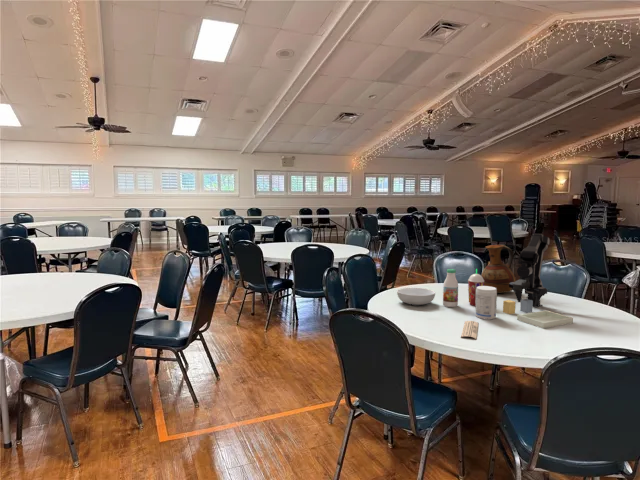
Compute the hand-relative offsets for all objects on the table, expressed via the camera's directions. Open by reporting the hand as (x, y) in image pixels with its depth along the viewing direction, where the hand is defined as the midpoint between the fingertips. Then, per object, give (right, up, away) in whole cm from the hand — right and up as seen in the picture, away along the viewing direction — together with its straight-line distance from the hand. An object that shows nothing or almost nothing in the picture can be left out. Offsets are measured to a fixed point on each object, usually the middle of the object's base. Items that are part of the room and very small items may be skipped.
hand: (526, 304), depth 211 cm
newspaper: (-40, -8, -30) cm, 51 cm away
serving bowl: (-53, -2, +17) cm, 56 cm away
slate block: (0, -4, 0) cm, 4 cm away
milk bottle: (-36, -3, +12) cm, 38 cm away
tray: (0, -6, -17) cm, 18 cm away
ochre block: (-10, -4, -2) cm, 11 cm away
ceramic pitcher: (+4, 0, +45) cm, 45 cm away
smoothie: (-21, -3, +14) cm, 26 cm away
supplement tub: (-25, -5, -10) cm, 27 cm away
